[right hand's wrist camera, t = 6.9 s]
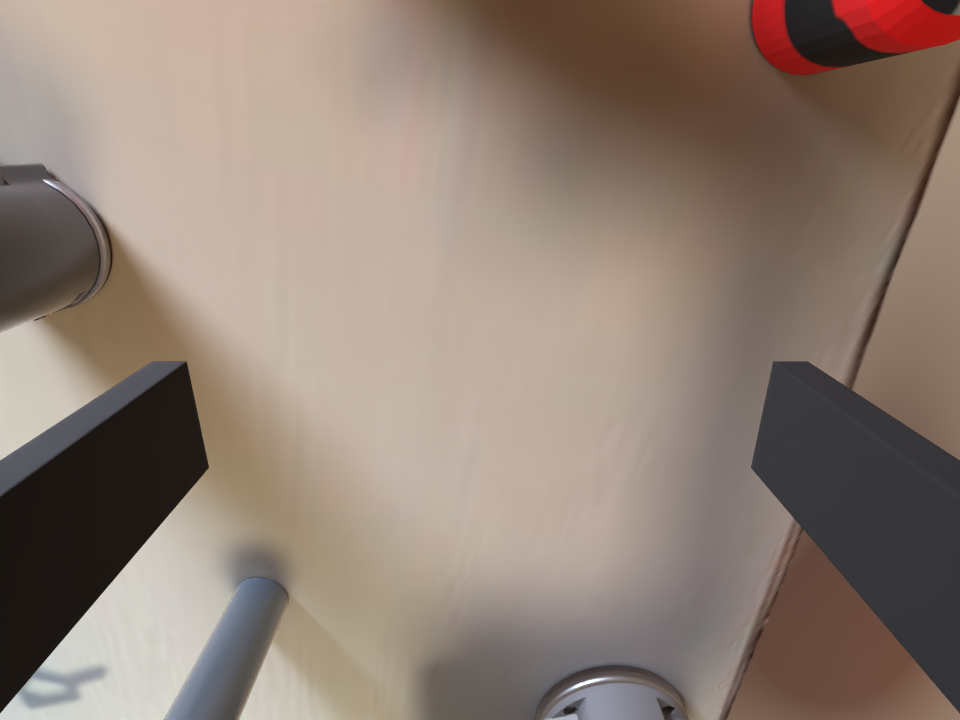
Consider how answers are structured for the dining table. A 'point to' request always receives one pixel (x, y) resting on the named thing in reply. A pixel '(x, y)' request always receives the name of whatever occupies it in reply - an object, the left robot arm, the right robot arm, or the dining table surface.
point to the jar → (232, 654)
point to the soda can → (849, 30)
